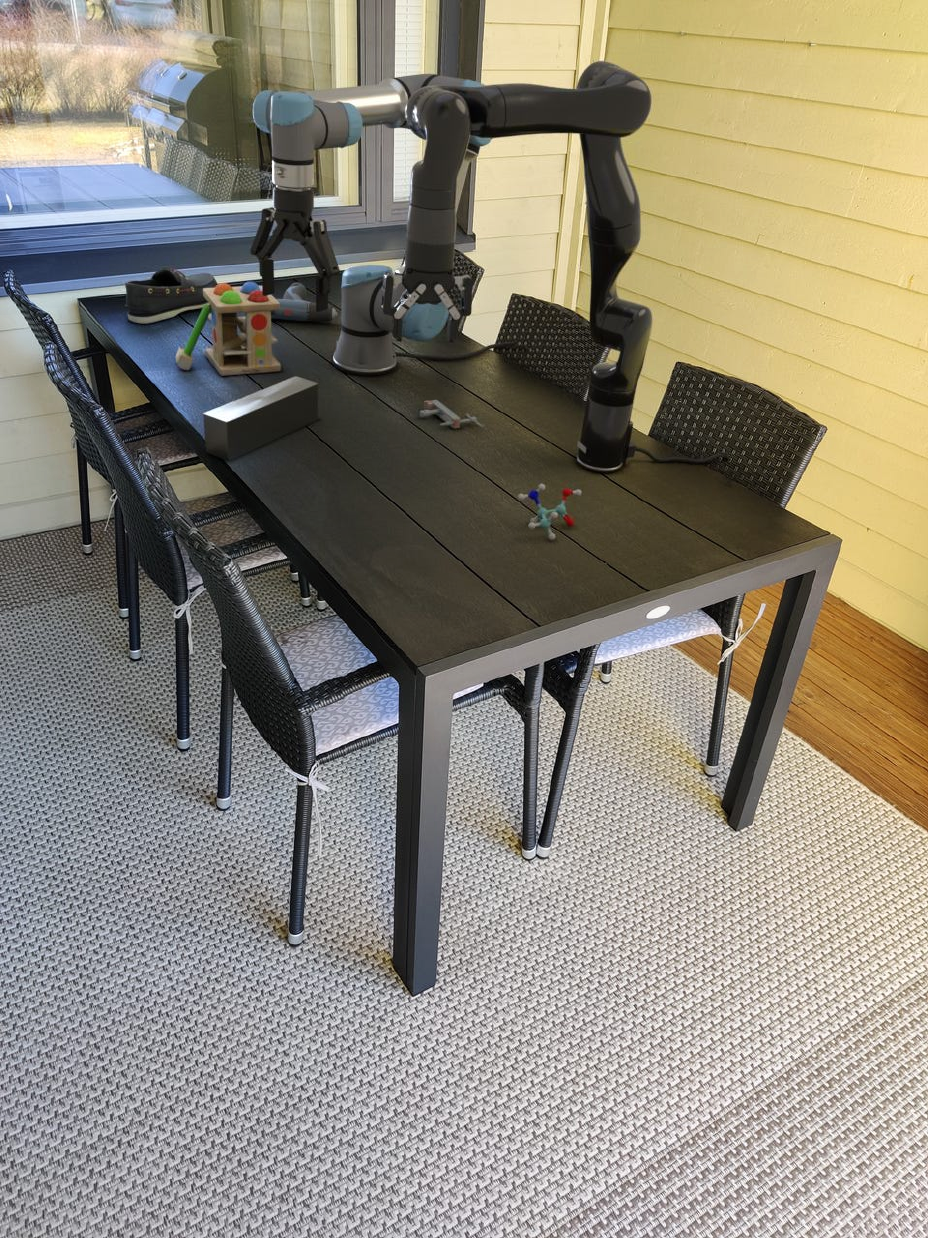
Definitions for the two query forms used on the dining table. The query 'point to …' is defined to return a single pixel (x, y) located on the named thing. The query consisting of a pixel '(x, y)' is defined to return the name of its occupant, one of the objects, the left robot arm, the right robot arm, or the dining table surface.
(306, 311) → the power drill
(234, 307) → the pounding bench toy
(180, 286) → the boat shoe
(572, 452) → the dining table surface
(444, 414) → the clamp
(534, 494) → the molecular model
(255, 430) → the bar
